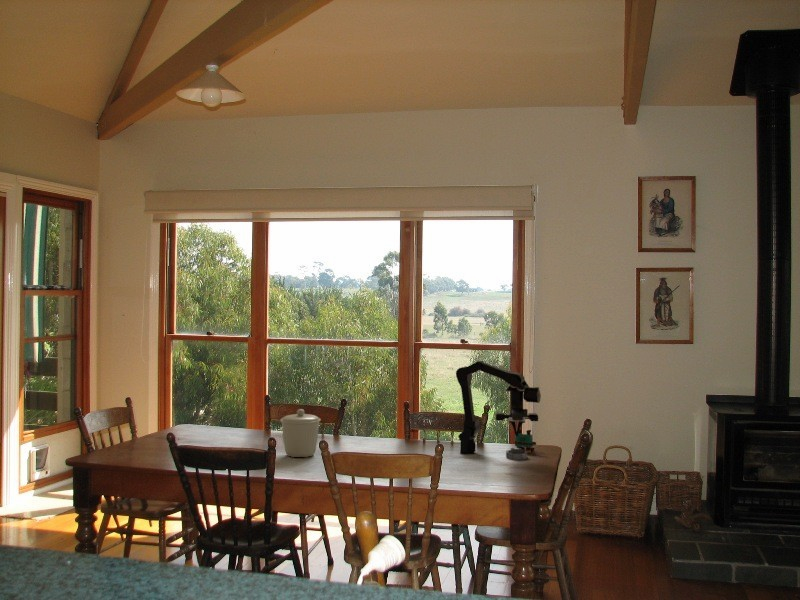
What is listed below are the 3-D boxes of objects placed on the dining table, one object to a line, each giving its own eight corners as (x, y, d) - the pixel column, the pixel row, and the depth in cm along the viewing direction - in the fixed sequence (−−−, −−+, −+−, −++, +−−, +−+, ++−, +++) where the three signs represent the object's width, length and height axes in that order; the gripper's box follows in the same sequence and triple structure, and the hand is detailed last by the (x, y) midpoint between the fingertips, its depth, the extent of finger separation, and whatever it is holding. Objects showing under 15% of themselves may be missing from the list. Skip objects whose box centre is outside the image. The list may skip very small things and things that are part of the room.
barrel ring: (506, 459, 333) (506, 453, 333) (505, 455, 342) (505, 449, 342) (527, 459, 332) (527, 454, 332) (525, 455, 341) (525, 450, 341)
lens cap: (510, 458, 335) (510, 449, 335) (510, 456, 340) (510, 447, 340) (522, 459, 334) (522, 449, 334) (521, 456, 339) (521, 447, 339)
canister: (322, 451, 348) (322, 406, 348) (318, 460, 330) (318, 412, 329) (283, 451, 348) (283, 405, 348) (276, 460, 330) (277, 412, 330)
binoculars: (538, 429, 354) (531, 430, 345) (537, 451, 353) (530, 453, 345) (520, 427, 358) (513, 428, 350) (519, 449, 358) (512, 451, 349)
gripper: (496, 403, 330) (496, 439, 330) (539, 404, 328) (539, 440, 328) (495, 399, 341) (495, 434, 341) (537, 400, 339) (536, 435, 339)
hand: (516, 436), depth 337 cm, fingers closed
